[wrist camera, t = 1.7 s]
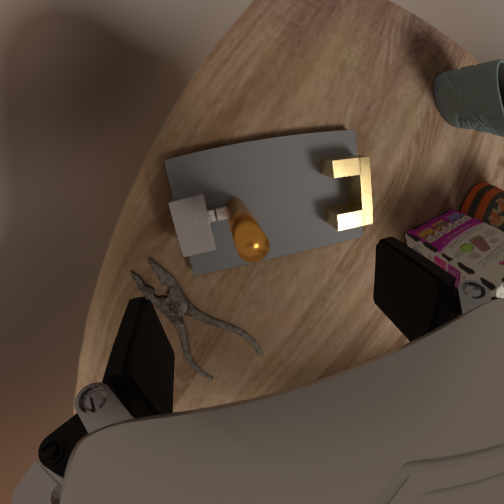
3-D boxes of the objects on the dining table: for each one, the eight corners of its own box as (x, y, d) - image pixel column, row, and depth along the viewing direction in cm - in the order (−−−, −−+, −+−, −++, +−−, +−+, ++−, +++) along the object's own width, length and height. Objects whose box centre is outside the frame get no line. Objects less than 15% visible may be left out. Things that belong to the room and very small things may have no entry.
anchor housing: (203, 188, 24) (203, 194, 22) (215, 238, 26) (216, 249, 24) (172, 196, 24) (168, 202, 21) (185, 245, 26) (183, 257, 23)
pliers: (219, 386, 36) (101, 308, 28) (219, 382, 37) (103, 305, 29) (269, 350, 35) (146, 255, 27) (268, 346, 35) (148, 252, 28)
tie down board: (347, 129, 26) (354, 129, 24) (356, 232, 30) (362, 236, 29) (166, 159, 24) (164, 160, 23) (194, 269, 29) (194, 276, 28)
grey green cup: (460, 144, 28) (523, 157, 17) (421, 102, 25) (493, 101, 14) (472, 96, 25) (530, 99, 14) (436, 52, 22) (499, 43, 11)
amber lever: (243, 196, 25) (266, 227, 16) (247, 216, 26) (271, 258, 17) (173, 212, 24) (154, 253, 15) (178, 232, 25) (164, 282, 16)
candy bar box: (405, 263, 34) (486, 326, 19) (402, 231, 32) (496, 289, 17) (453, 235, 34) (529, 280, 19) (452, 206, 32) (536, 246, 17)
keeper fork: (353, 154, 25) (368, 156, 23) (358, 215, 28) (372, 223, 25) (319, 158, 25) (332, 160, 22) (325, 222, 28) (338, 231, 25)
